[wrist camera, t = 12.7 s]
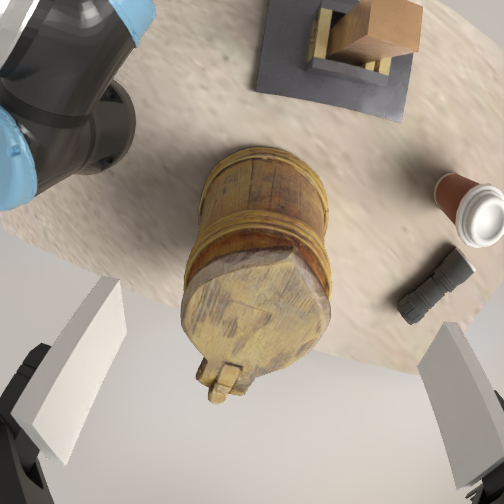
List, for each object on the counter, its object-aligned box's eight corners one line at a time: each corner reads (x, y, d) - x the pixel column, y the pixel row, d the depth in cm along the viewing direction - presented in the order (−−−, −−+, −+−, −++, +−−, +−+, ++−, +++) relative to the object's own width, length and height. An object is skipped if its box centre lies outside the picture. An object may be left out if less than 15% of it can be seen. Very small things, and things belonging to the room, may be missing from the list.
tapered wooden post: (323, 59, 35) (367, 34, 17) (328, 30, 32) (373, -14, 15) (353, 66, 35) (418, 51, 17) (357, 38, 33) (423, 4, 15)
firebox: (255, 91, 38) (251, 91, 30) (272, -14, 31) (271, -38, 23) (397, 122, 39) (425, 131, 31) (413, 21, 31) (443, 10, 23)
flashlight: (406, 313, 54) (415, 333, 50) (390, 300, 53) (399, 319, 48) (465, 259, 48) (479, 275, 43) (452, 241, 47) (467, 257, 42)
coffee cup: (476, 169, 40) (521, 195, 30) (464, 221, 45) (502, 256, 34) (432, 159, 41) (474, 183, 30) (420, 215, 45) (455, 252, 34)
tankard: (343, 169, 43) (411, 257, 21) (290, 300, 54) (296, 429, 32) (218, 131, 41) (156, 182, 19) (186, 272, 52) (137, 393, 31)
